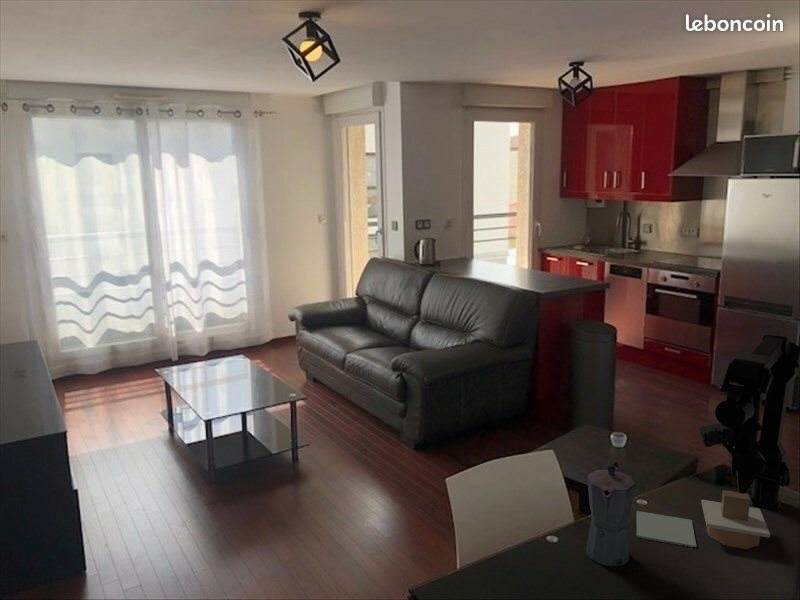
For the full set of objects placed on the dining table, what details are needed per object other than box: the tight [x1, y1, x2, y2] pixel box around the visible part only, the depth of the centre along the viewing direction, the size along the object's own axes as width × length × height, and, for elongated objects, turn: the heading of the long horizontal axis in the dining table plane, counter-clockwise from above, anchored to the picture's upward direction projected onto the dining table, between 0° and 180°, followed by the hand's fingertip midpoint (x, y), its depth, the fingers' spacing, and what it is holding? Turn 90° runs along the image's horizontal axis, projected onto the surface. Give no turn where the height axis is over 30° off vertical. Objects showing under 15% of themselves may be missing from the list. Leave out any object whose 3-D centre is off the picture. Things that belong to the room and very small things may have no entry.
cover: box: [700, 489, 771, 538], centre depth 139 cm, size 12×12×6 cm
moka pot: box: [585, 462, 637, 567], centre depth 131 cm, size 10×15×20 cm, turn 158°
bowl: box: [706, 526, 761, 550], centre depth 140 cm, size 10×10×4 cm
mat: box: [636, 510, 697, 549], centre depth 143 cm, size 12×12×1 cm
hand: (738, 484), depth 138 cm, fingers open, 9 cm apart
